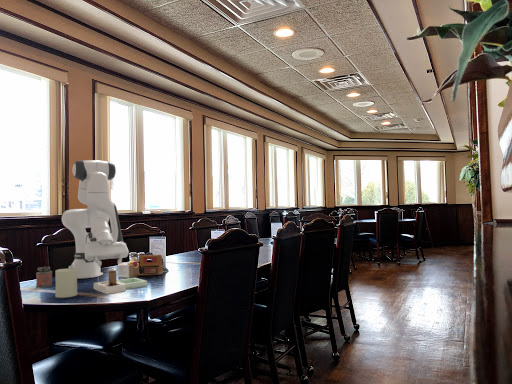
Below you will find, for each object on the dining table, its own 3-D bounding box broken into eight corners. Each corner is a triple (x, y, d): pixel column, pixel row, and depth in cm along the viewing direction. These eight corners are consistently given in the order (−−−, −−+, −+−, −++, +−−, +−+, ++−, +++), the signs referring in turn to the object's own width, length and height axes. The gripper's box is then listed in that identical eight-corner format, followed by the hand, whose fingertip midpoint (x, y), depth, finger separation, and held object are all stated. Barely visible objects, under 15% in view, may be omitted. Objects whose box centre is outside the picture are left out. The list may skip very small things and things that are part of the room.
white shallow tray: (93, 289, 203) (93, 282, 203) (111, 286, 208) (111, 280, 209) (106, 294, 190) (106, 287, 191) (125, 291, 196) (125, 284, 196)
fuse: (106, 290, 197) (106, 268, 197) (115, 288, 199) (114, 267, 200) (110, 291, 194) (109, 269, 194) (118, 289, 196) (118, 268, 197)
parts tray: (112, 285, 211) (112, 280, 211) (134, 282, 218) (134, 277, 219) (123, 289, 200) (123, 284, 200) (147, 286, 208) (147, 280, 208)
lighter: (50, 285, 216) (50, 265, 217) (53, 285, 214) (53, 266, 215) (34, 287, 210) (34, 267, 210) (38, 288, 208) (38, 268, 208)
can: (76, 296, 186) (76, 269, 186) (53, 298, 183) (53, 270, 184) (78, 292, 195) (78, 266, 195) (57, 294, 192) (56, 268, 193)
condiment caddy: (175, 270, 262) (175, 251, 262) (174, 277, 234) (173, 256, 234) (129, 272, 257) (129, 253, 258) (122, 280, 230) (122, 258, 230)
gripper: (123, 245, 216) (130, 266, 207) (81, 248, 204) (86, 270, 196) (126, 237, 212) (133, 258, 204) (84, 239, 201) (89, 261, 192)
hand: (110, 264), depth 200 cm, fingers open, 8 cm apart
